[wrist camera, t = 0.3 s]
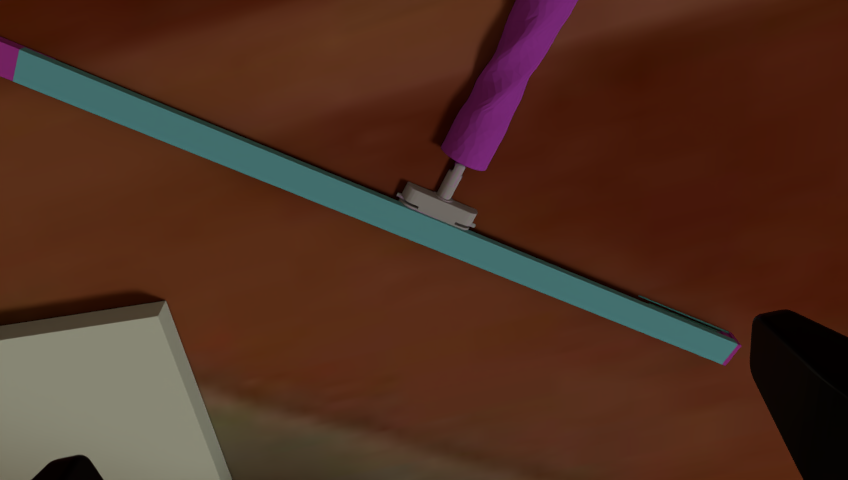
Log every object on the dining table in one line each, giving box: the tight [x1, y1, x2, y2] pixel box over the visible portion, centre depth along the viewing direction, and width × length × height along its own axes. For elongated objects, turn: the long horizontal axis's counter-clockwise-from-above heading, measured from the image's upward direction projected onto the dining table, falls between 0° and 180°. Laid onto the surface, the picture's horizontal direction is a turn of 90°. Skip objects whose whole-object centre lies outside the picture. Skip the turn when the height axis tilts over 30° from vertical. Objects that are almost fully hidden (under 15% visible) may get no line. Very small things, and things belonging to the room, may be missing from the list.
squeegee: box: [0, 0, 741, 365], centre depth 22 cm, size 29×2×10 cm
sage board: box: [0, 301, 232, 480], centre depth 26 cm, size 9×9×1 cm
